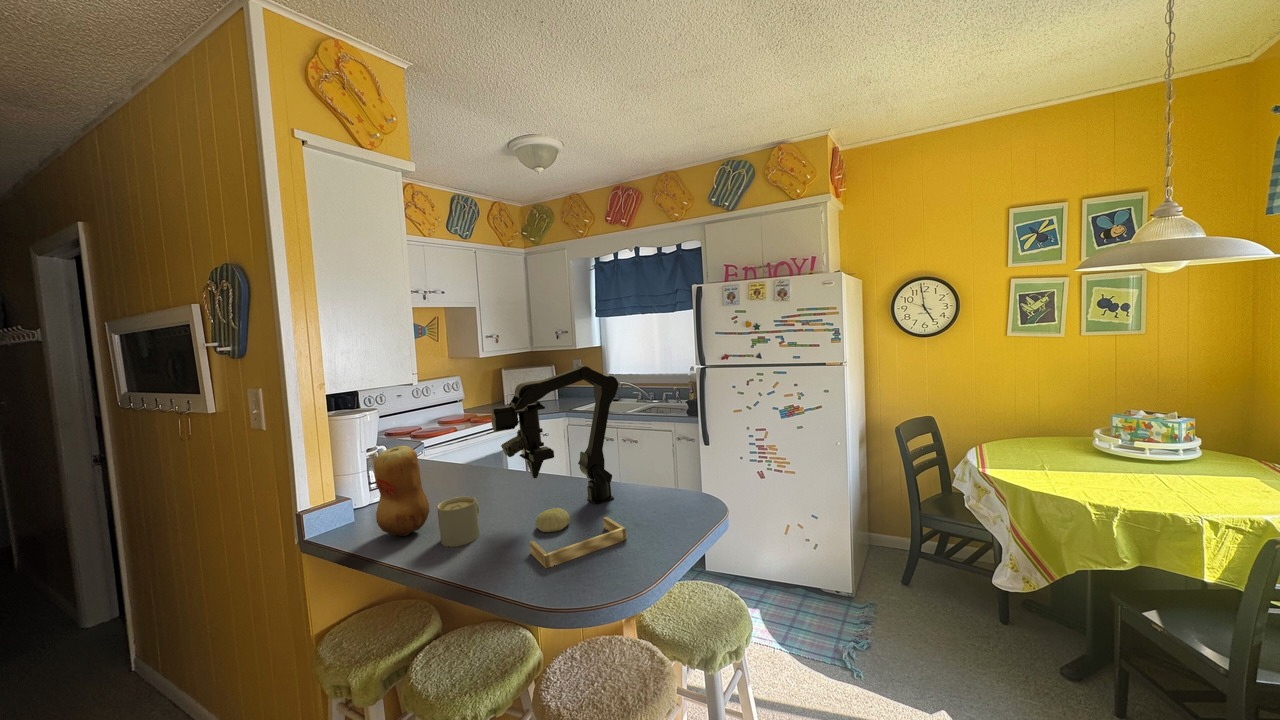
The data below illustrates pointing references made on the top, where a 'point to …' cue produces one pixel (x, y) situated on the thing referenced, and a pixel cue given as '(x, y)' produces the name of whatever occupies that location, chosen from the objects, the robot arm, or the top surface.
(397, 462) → the butternut squash
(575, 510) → the top surface
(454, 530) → the coffee mug
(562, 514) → the sea urchin shell
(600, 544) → the box
